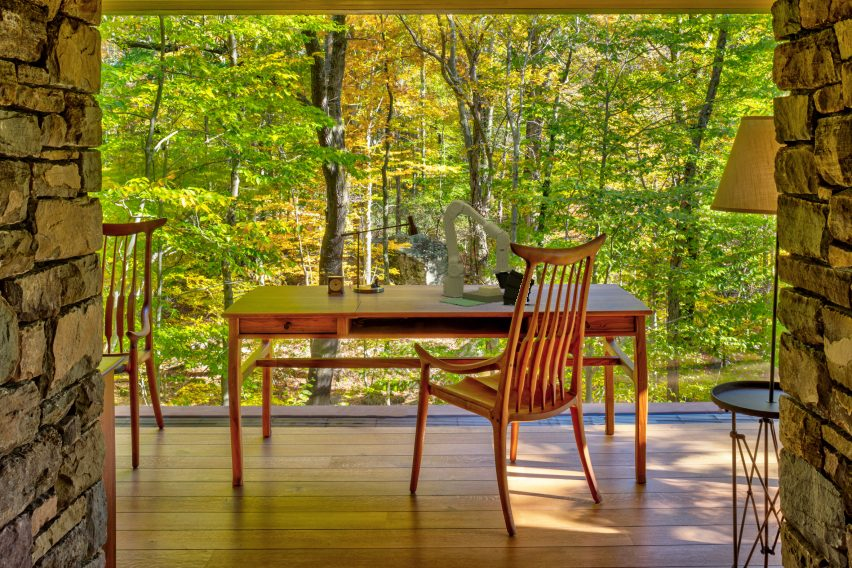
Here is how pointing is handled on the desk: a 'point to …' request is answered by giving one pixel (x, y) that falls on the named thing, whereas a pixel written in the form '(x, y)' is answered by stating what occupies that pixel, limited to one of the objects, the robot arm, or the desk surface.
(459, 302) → the mat
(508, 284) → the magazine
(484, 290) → the tile
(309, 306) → the desk surface
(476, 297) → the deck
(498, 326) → the desk surface
